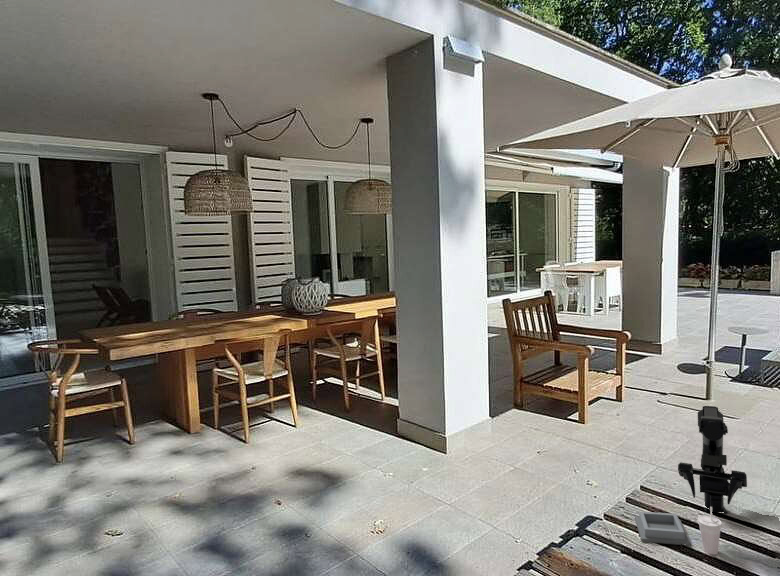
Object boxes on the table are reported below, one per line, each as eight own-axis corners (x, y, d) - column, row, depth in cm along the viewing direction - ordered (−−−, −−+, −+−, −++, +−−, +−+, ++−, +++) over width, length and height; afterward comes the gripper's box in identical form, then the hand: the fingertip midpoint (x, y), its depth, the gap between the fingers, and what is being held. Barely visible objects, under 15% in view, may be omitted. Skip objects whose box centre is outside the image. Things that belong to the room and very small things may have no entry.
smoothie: (726, 557, 156) (725, 512, 155) (703, 556, 158) (701, 512, 157) (717, 545, 163) (716, 502, 162) (695, 544, 164) (693, 501, 163)
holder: (634, 518, 181) (634, 509, 181) (680, 522, 177) (679, 512, 177) (641, 541, 168) (641, 531, 168) (690, 545, 164) (690, 534, 163)
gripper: (677, 438, 173) (674, 484, 165) (745, 447, 162) (745, 497, 154) (681, 453, 180) (678, 497, 172) (746, 462, 169) (747, 510, 161)
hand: (710, 500), depth 165 cm, fingers open, 9 cm apart
